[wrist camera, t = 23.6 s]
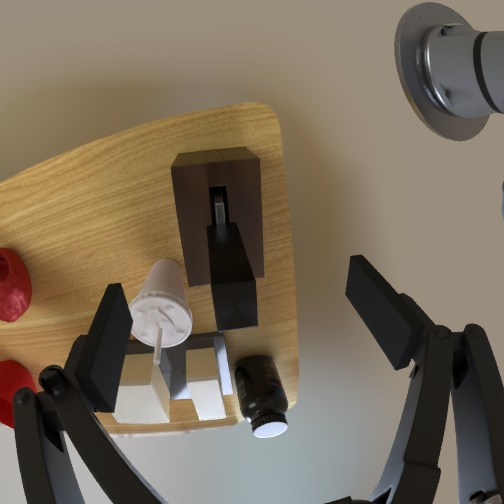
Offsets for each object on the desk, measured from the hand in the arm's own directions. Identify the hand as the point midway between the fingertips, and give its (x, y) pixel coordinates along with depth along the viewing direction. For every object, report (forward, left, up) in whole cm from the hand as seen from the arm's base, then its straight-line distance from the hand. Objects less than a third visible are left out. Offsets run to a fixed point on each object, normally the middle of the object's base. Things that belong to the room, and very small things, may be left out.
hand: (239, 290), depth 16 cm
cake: (+16, +26, -18) cm, 35 cm away
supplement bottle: (-3, +28, -18) cm, 33 cm away
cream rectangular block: (+5, +26, -17) cm, 31 cm away
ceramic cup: (+44, +27, -18) cm, 55 cm away
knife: (0, 0, -17) cm, 17 cm away
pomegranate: (+30, +6, -18) cm, 36 cm away
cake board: (+11, +26, -18) cm, 33 cm away
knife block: (0, 0, -18) cm, 18 cm away
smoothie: (+7, +8, -18) cm, 21 cm away
